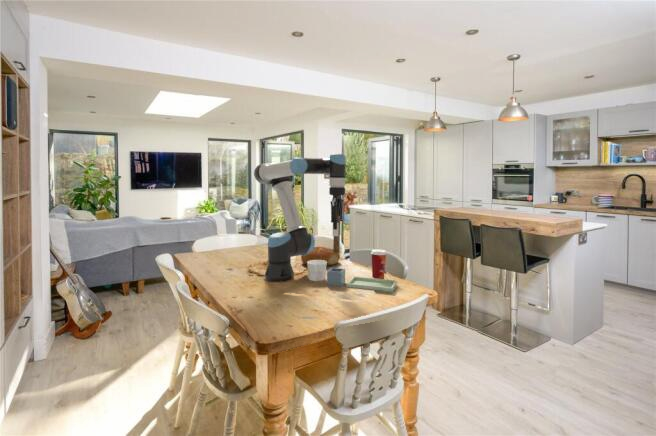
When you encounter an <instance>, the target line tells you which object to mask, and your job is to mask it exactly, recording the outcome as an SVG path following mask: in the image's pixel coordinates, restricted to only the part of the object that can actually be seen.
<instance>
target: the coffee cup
mask: <svg viewBox="0 0 656 436" xmlns="http://www.w3.org/2000/svg"><path fill="white" fill-rule="evenodd" d="M370 255H371V273H372V274H371V275H372V277H371V278H376V279H385V274H386V273H385V270H386V261H387V260H386V259H387V255H388V253H387V250H386V249H385V250H384V249H379V248H378V249H377V248H376V249H372V250H371V253H370Z"/></svg>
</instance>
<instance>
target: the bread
mask: <svg viewBox="0 0 656 436" xmlns="http://www.w3.org/2000/svg"><path fill="white" fill-rule="evenodd" d="M340 258H341V257H340V252H339V253H333V248H328V247H325V246H314V249H313V251H312V252H311V253H309V254H305V255H300V260H301V262H302V263H303V265H306V266H307V261H310V260H324V261H326V262H327V264H326V267H330V266H334V265H336V264H338V262H339V261H340Z"/></svg>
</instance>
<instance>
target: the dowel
mask: <svg viewBox="0 0 656 436" xmlns="http://www.w3.org/2000/svg"><path fill="white" fill-rule="evenodd" d="M340 222H341V221H340V216H338V223H339V230H338V236H333V238H332V239H333V240H332V241H333V246H332V247H333V248H332V249H333V253H339V254H340V249H341V248H340V245H341V243H340V242H341V240H340V239H341V237H340V236H341V235H340Z"/></svg>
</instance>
